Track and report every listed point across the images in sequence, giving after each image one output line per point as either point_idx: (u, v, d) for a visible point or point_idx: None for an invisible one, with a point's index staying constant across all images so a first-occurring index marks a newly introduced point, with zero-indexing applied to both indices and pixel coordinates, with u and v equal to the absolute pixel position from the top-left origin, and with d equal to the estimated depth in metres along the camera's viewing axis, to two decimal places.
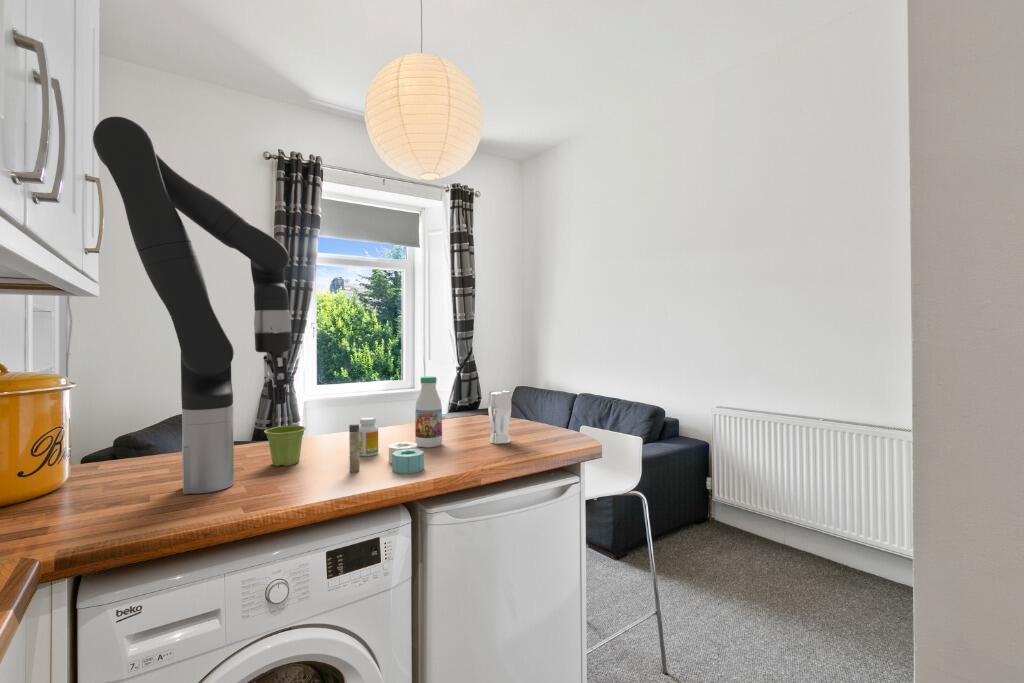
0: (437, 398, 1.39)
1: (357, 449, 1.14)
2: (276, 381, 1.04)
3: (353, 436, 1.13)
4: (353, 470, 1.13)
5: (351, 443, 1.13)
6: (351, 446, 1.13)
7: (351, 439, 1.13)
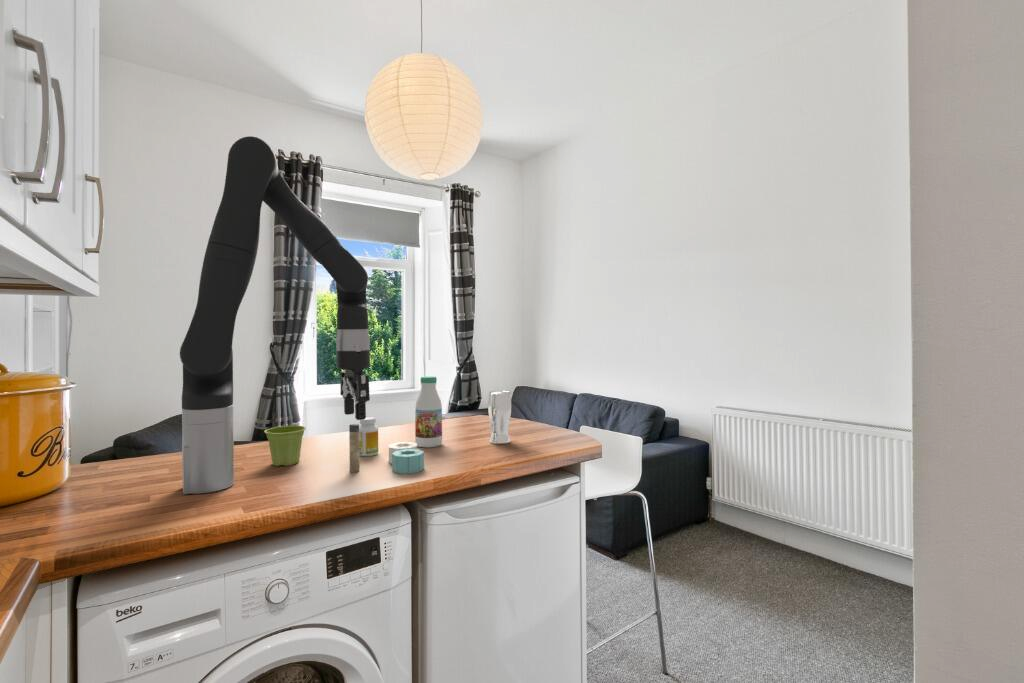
0: (437, 398, 1.39)
1: (357, 449, 1.14)
2: (360, 398, 1.08)
3: (353, 436, 1.13)
4: (353, 470, 1.13)
5: (351, 443, 1.13)
6: (351, 446, 1.13)
7: (351, 439, 1.13)
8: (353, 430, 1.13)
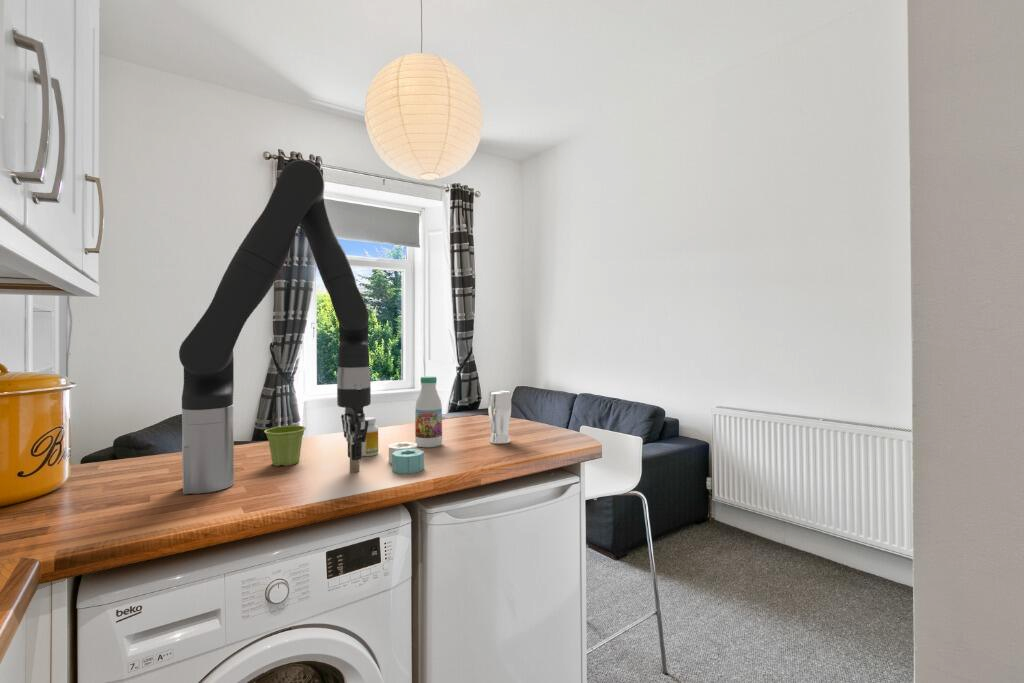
0: (437, 398, 1.39)
1: None
2: (356, 441, 1.10)
3: None
4: (353, 470, 1.13)
5: None
6: None
7: None
8: (353, 430, 1.13)
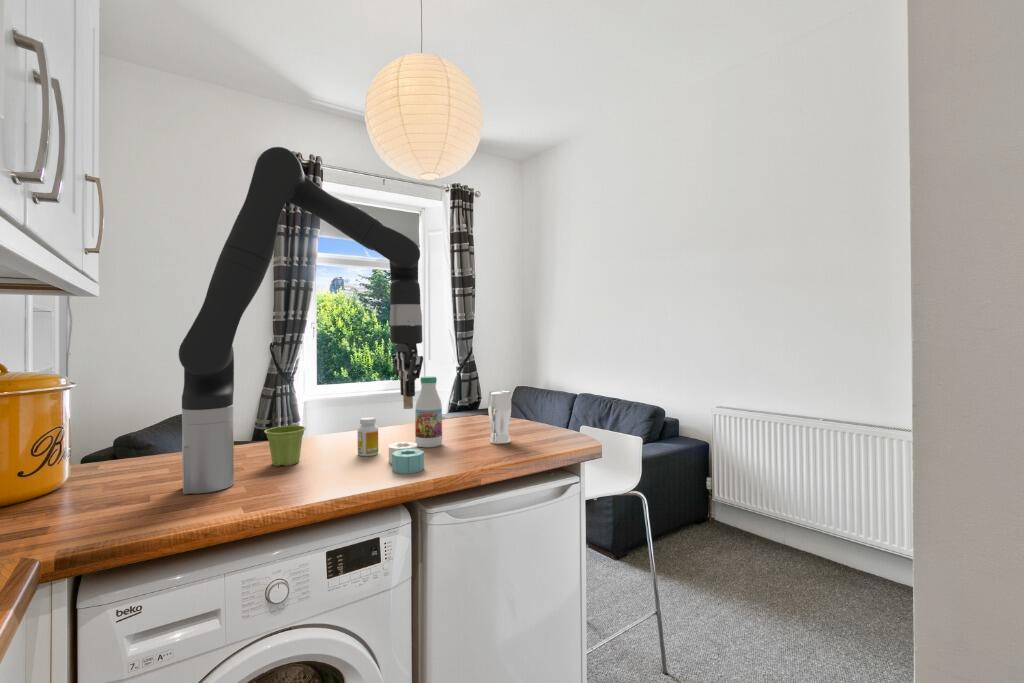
0: (437, 398, 1.39)
1: None
2: (411, 376, 1.12)
3: None
4: (407, 407, 1.15)
5: None
6: None
7: None
8: (407, 367, 1.15)
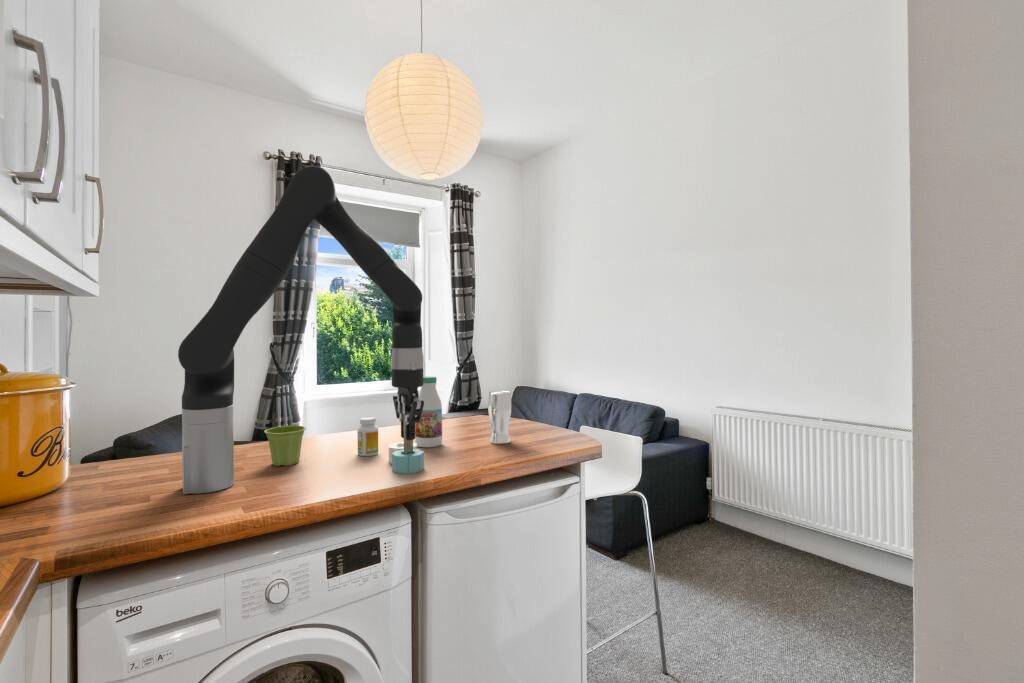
0: (437, 398, 1.39)
1: None
2: (411, 421, 1.12)
3: None
4: (407, 450, 1.15)
5: (405, 423, 1.15)
6: None
7: None
8: (407, 410, 1.15)
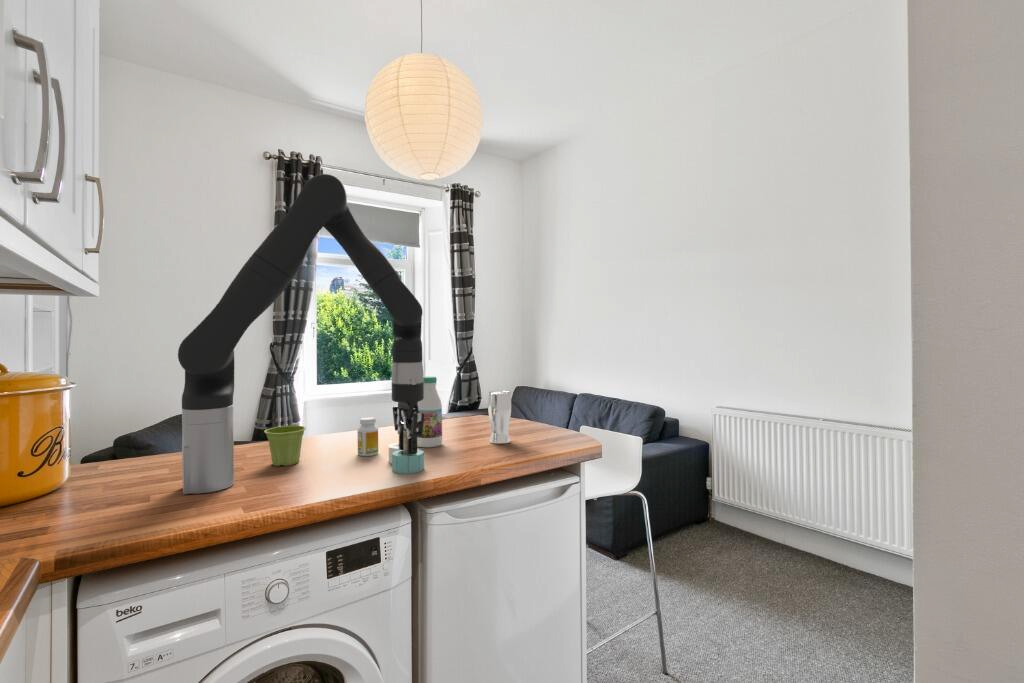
0: (437, 398, 1.39)
1: None
2: (413, 435, 1.11)
3: None
4: None
5: (405, 441, 1.15)
6: (405, 444, 1.15)
7: (405, 437, 1.15)
8: None
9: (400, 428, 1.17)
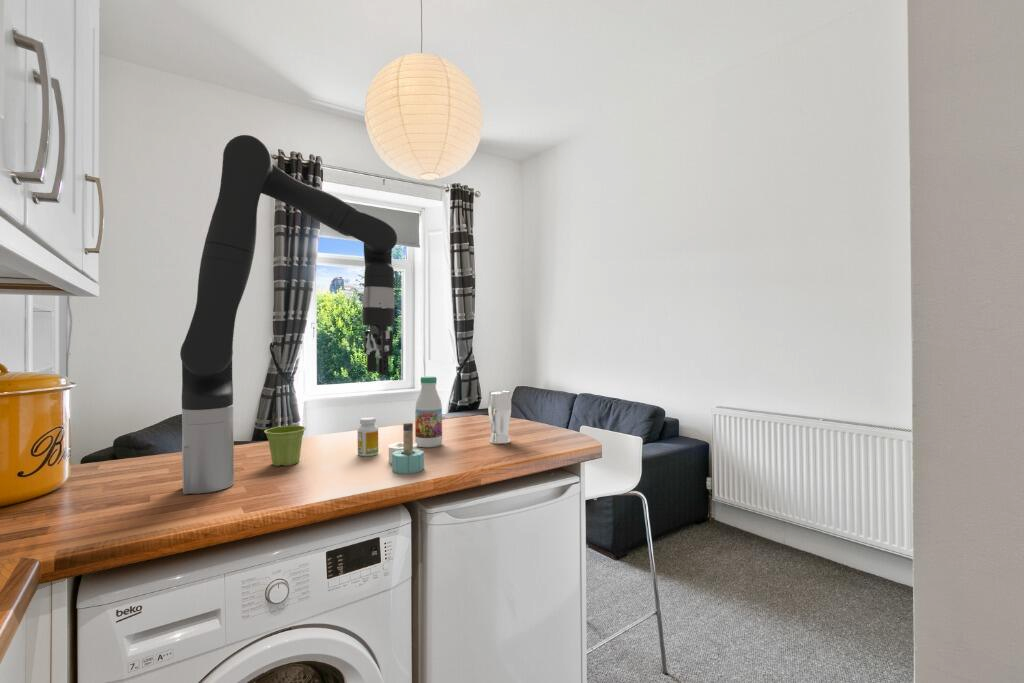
0: (437, 398, 1.39)
1: (411, 447, 1.15)
2: (383, 352, 1.11)
3: (407, 435, 1.15)
4: None
5: (405, 441, 1.15)
6: (405, 444, 1.15)
7: (405, 437, 1.15)
8: (407, 429, 1.15)
9: None
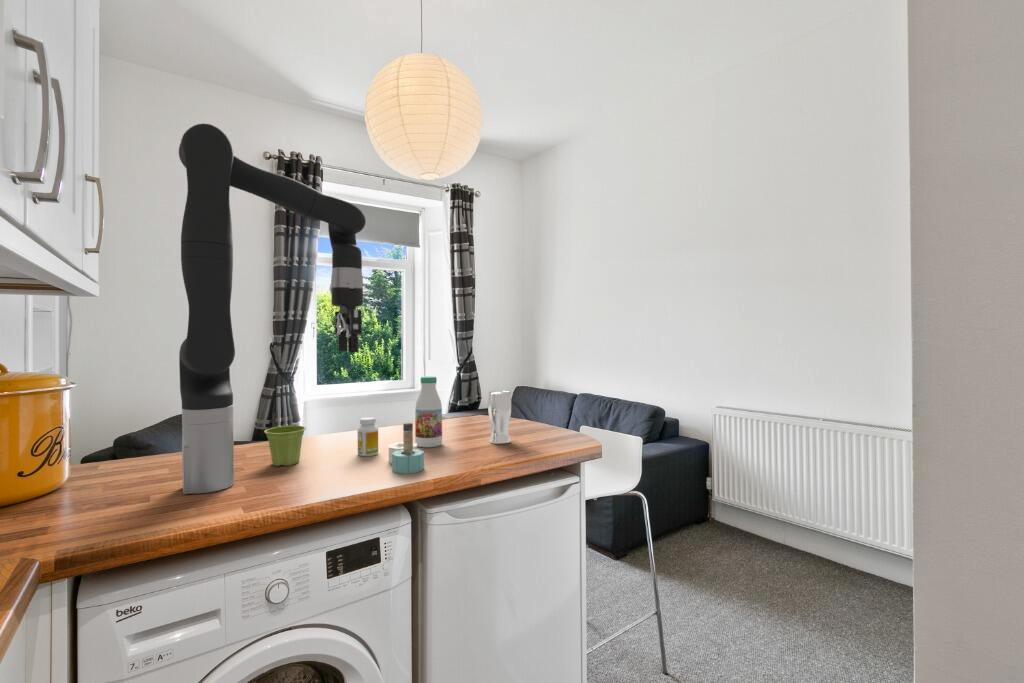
0: (437, 398, 1.39)
1: (411, 447, 1.15)
2: (352, 330, 1.15)
3: (407, 435, 1.15)
4: None
5: (405, 441, 1.15)
6: (405, 444, 1.15)
7: (405, 437, 1.15)
8: (407, 429, 1.15)
9: None
